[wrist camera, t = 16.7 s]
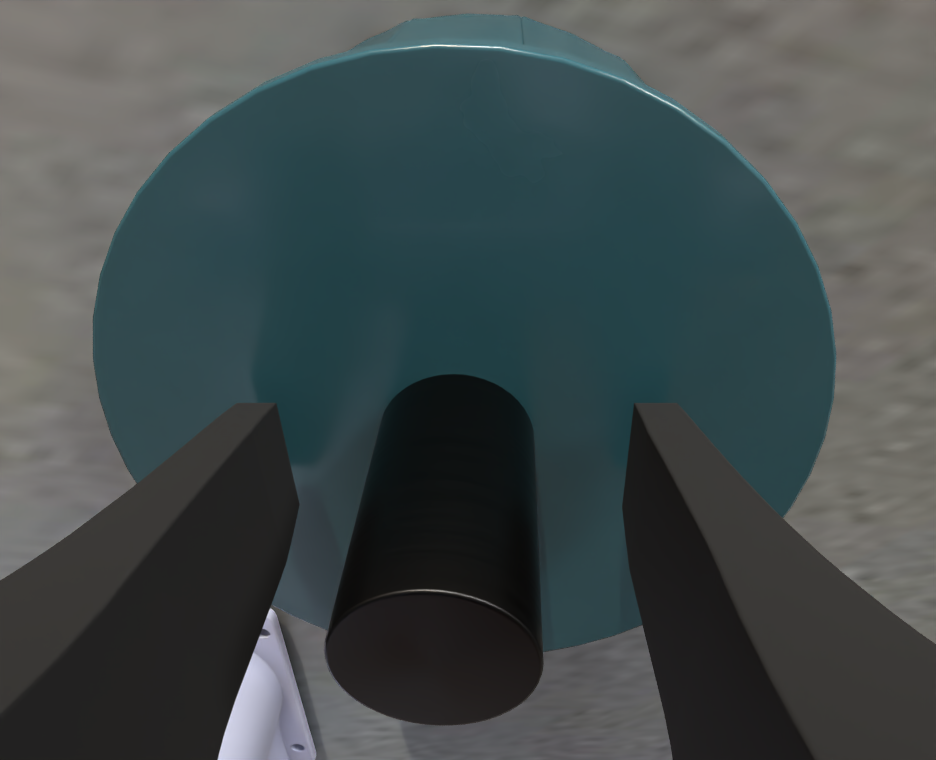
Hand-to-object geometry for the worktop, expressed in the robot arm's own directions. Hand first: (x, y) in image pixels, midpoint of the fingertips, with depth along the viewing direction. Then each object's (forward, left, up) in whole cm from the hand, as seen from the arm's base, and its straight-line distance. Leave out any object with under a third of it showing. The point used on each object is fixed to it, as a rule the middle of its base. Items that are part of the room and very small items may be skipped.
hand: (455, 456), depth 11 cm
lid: (0, 0, -1) cm, 1 cm away
